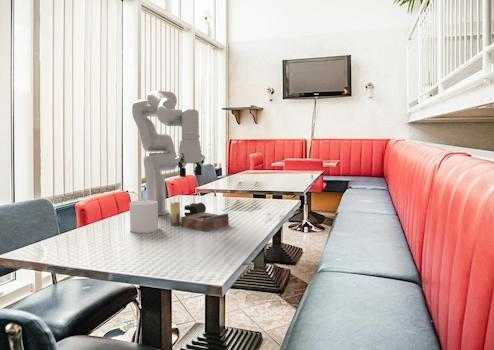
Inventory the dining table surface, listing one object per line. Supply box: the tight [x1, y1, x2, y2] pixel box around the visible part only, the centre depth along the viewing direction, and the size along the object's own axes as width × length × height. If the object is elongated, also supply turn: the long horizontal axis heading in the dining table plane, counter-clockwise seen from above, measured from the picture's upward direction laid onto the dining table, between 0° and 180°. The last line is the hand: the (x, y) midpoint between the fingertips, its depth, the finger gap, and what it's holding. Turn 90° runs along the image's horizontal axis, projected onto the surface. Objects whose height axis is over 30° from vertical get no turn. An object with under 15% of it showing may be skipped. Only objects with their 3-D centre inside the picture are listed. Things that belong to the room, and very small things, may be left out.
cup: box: [129, 199, 159, 234], centre depth 165 cm, size 12×12×12 cm
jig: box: [180, 211, 230, 232], centre depth 173 cm, size 16×14×5 cm
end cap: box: [184, 202, 207, 216], centre depth 191 cm, size 10×7×7 cm
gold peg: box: [170, 201, 181, 226], centre depth 175 cm, size 4×4×10 cm
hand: (190, 176), depth 171 cm, fingers open, 9 cm apart
